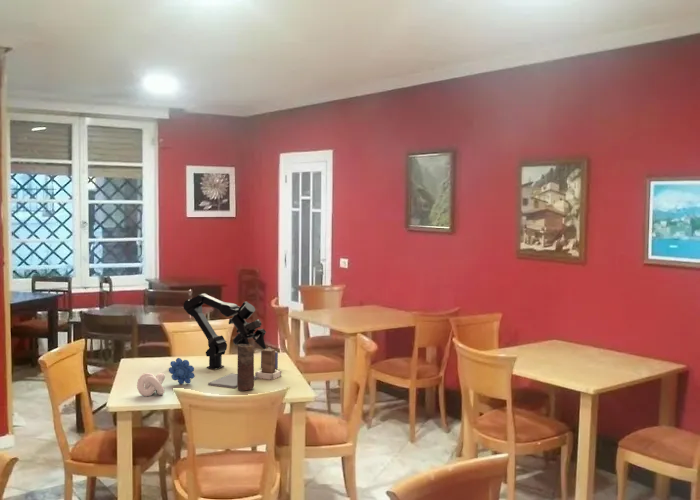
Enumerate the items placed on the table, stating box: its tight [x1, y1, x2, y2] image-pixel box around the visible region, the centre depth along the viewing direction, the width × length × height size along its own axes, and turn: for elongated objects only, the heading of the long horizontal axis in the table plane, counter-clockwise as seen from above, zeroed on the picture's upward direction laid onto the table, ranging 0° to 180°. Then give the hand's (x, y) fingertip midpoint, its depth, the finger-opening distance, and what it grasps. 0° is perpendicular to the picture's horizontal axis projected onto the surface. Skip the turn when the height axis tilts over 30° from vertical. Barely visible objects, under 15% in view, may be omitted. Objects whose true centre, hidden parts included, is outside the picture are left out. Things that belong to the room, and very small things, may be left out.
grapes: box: [168, 357, 196, 385], centre depth 314 cm, size 12×7×12 cm, turn 95°
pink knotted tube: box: [136, 372, 166, 397], centre depth 298 cm, size 11×12×9 cm
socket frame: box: [254, 369, 282, 380], centre depth 331 cm, size 8×9×2 cm
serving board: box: [207, 372, 259, 389], centre depth 322 cm, size 20×14×1 cm
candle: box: [236, 343, 255, 392], centre depth 308 cm, size 8×7×20 cm
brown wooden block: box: [261, 348, 276, 374], centre depth 331 cm, size 4×5×13 cm
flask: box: [260, 347, 279, 370], centre depth 348 cm, size 9×3×11 cm, turn 68°
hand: (259, 350), depth 334 cm, fingers open, 9 cm apart
